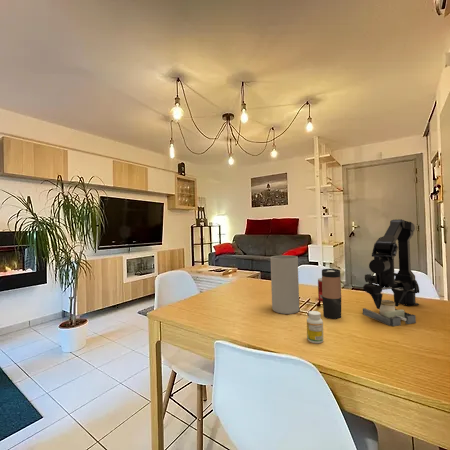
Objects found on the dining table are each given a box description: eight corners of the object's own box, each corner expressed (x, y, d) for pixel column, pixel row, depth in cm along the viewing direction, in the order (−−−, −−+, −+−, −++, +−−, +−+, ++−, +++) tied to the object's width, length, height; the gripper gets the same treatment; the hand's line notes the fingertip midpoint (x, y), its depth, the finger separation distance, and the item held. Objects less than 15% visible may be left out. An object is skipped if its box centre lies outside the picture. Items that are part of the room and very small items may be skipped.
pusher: (401, 318, 107) (401, 309, 107) (414, 323, 101) (414, 313, 101) (384, 320, 105) (384, 311, 105) (396, 325, 99) (396, 316, 99)
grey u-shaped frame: (385, 311, 116) (385, 304, 116) (417, 322, 102) (416, 315, 102) (362, 314, 114) (362, 307, 114) (391, 326, 99) (391, 318, 99)
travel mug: (341, 314, 115) (339, 268, 115) (342, 320, 107) (341, 272, 107) (322, 312, 117) (321, 268, 117) (323, 318, 110) (321, 271, 110)
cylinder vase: (304, 309, 123) (302, 256, 123) (291, 316, 113) (289, 259, 113) (280, 304, 131) (279, 254, 131) (267, 310, 122) (265, 257, 122)
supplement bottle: (320, 345, 86) (319, 316, 86) (304, 341, 90) (303, 313, 90) (325, 339, 90) (324, 312, 90) (310, 335, 94) (309, 309, 94)
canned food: (336, 302, 131) (335, 280, 131) (319, 302, 133) (319, 280, 133) (333, 298, 138) (332, 277, 138) (317, 298, 140) (316, 277, 140)
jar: (387, 314, 112) (386, 299, 112) (399, 319, 106) (398, 302, 106) (376, 316, 110) (375, 300, 111) (387, 321, 105) (387, 304, 105)
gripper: (388, 265, 118) (389, 300, 118) (353, 268, 114) (354, 304, 114) (411, 269, 107) (412, 307, 107) (373, 273, 103) (374, 312, 103)
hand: (387, 307), depth 108 cm, fingers open, 9 cm apart
